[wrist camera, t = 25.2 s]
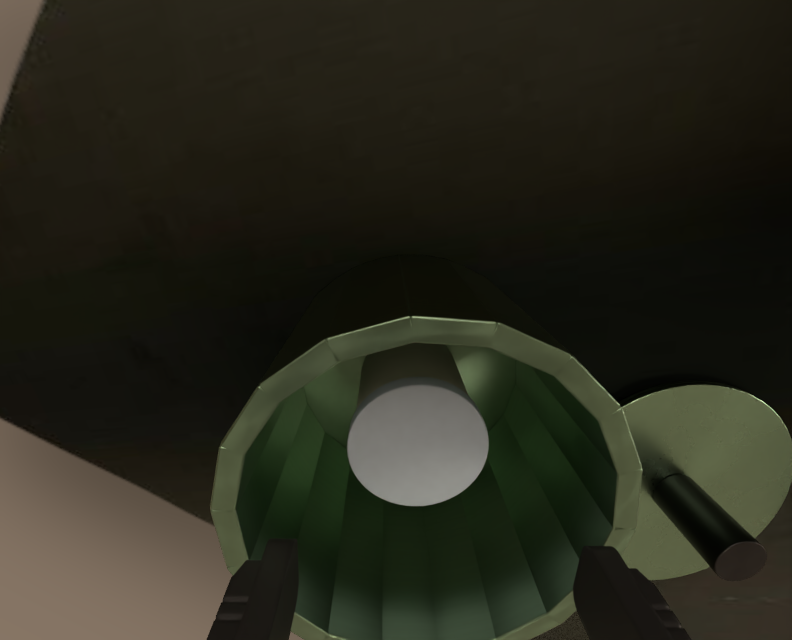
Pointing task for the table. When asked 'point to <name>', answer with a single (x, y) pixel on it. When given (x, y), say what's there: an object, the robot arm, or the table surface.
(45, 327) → the table surface
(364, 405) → the tub
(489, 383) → the wastebin
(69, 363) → the table surface
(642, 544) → the bin lid
